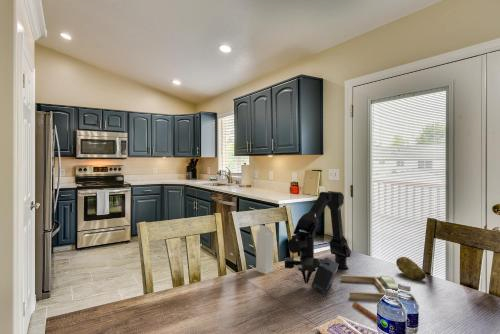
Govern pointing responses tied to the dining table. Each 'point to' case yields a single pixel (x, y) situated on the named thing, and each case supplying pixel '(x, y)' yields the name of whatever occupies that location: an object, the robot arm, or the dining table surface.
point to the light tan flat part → (380, 282)
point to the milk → (264, 250)
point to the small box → (324, 275)
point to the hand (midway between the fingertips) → (306, 283)
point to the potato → (410, 268)
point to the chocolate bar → (365, 311)
